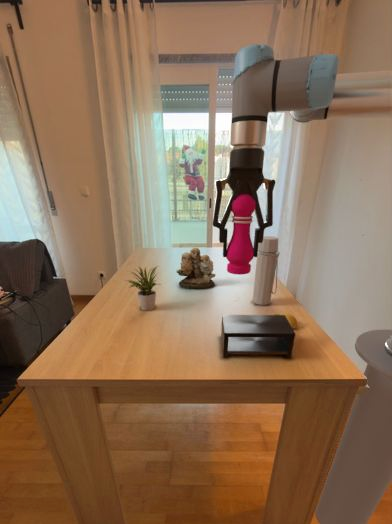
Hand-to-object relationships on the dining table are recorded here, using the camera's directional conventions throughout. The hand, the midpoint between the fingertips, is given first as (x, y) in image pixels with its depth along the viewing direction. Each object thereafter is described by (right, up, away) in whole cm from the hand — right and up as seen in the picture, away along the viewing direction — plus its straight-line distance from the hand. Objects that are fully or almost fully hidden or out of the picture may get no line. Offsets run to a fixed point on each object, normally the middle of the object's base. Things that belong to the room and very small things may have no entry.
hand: (239, 255), depth 74 cm
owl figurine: (-12, +6, +60) cm, 62 cm away
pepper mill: (0, -4, +2) cm, 4 cm away
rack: (+6, -24, +11) cm, 27 cm away
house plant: (-30, -8, +39) cm, 50 cm away
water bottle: (+16, -6, +41) cm, 44 cm away
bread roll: (+18, -16, +24) cm, 34 cm away
